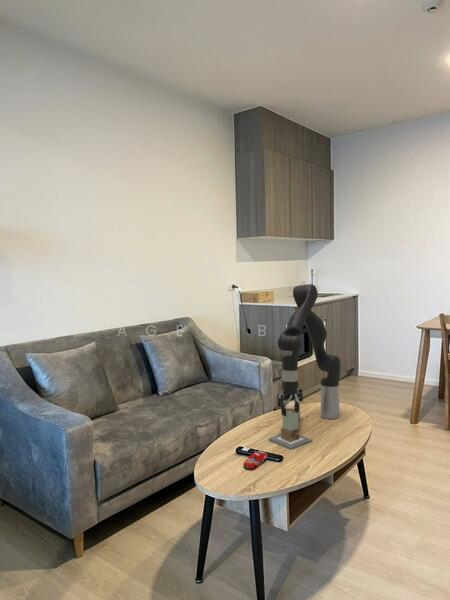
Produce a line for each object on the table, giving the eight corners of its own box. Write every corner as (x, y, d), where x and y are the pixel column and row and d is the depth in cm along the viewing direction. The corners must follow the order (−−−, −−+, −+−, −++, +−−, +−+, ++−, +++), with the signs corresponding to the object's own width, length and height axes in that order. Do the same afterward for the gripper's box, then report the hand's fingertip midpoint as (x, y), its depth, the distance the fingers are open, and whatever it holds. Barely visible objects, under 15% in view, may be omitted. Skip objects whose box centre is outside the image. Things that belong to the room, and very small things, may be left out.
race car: (252, 472, 172) (252, 462, 171) (241, 468, 175) (240, 459, 175) (269, 460, 182) (269, 450, 182) (258, 456, 185) (258, 447, 185)
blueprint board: (289, 432, 211) (289, 420, 210) (312, 441, 200) (311, 428, 199) (268, 440, 202) (268, 427, 202) (290, 449, 191) (290, 436, 191)
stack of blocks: (287, 417, 233) (287, 394, 232) (299, 418, 232) (299, 395, 231) (286, 432, 212) (286, 407, 211) (299, 433, 211) (299, 408, 210)
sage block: (290, 425, 204) (290, 410, 204) (298, 428, 200) (298, 413, 200) (282, 428, 201) (282, 413, 201) (290, 431, 197) (290, 415, 197)
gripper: (294, 374, 206) (294, 408, 207) (273, 380, 197) (273, 415, 199) (306, 377, 200) (307, 412, 202) (285, 383, 191) (285, 419, 193)
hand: (290, 413), depth 200 cm, fingers open, 8 cm apart
